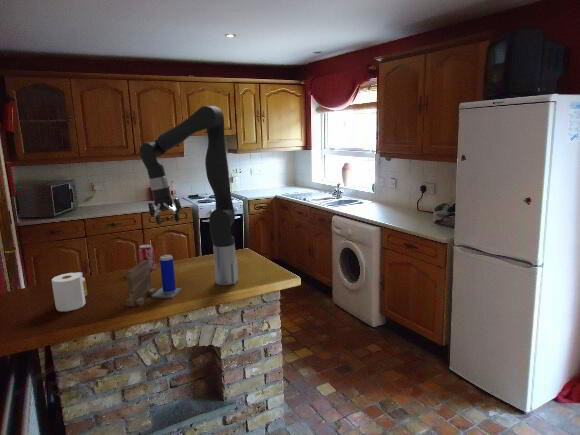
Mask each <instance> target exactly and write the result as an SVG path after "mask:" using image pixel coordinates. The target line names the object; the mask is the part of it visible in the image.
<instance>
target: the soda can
mask: <svg viewBox="0 0 580 435" xmlns="http://www.w3.org/2000/svg"><path fill="white" fill-rule="evenodd" d="M138 259H139V263H141V262H142V261H144V260H149V268H150V272H151V271H153V270H154V269H155V268H156V258H155V250H154V246H153V245H152V244H150V243H148V244H141V245H139V248H138Z"/></svg>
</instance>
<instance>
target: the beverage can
mask: <svg viewBox="0 0 580 435" xmlns="http://www.w3.org/2000/svg"><path fill="white" fill-rule="evenodd" d="M159 262H160V263H159V264H160V265H159V266H160V273H161V284H162V285H161V286H162V288H163V291H164V292H165V293H171V292H174V291H175V290H176V288H177V287H176V277H175V266H174V265H175V264H174V258H173V255H171V254H164V255H161V256H160V258H159Z"/></svg>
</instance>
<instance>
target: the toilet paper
mask: <svg viewBox="0 0 580 435" xmlns="http://www.w3.org/2000/svg"><path fill="white" fill-rule="evenodd" d="M82 275H83V274H82ZM82 275H81V274H79V273H77V272H68V273H64V274H60V275H57V276H56V275H55V276H54V277H53V278H52V279H51V284H52V286H51V287H52V293H53V299H54V303H55V309H56V310H57V311H58V312H70V311H75V310H78V309H81V308H83V307H84V306H85V304H86V302H87V301H86V298H85V297H86V296H85V295H84V288H83V281H82V277H83V276H82Z"/></svg>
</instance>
